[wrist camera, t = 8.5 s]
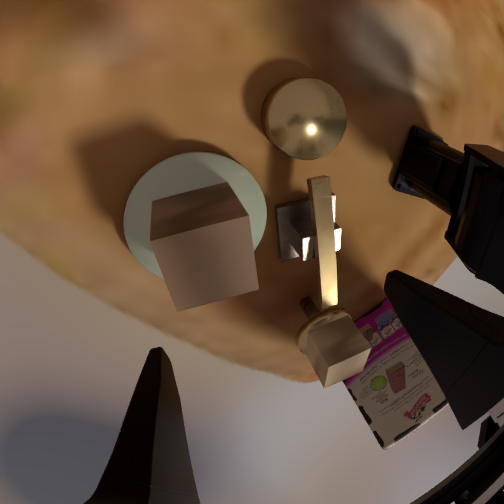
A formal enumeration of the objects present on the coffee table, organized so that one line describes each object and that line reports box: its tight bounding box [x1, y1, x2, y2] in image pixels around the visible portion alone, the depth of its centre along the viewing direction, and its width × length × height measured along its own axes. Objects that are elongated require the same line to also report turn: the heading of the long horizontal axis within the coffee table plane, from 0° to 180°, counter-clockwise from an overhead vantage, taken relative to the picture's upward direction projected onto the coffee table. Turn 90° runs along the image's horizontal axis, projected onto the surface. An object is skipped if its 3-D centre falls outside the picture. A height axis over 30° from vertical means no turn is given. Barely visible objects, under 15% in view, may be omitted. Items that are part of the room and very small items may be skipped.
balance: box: [261, 78, 353, 355], centre depth 21 cm, size 24×6×5 cm, turn 7°
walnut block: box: [150, 182, 259, 311], centre depth 17 cm, size 5×5×5 cm
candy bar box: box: [342, 298, 449, 450], centre depth 28 cm, size 11×5×16 cm, turn 120°
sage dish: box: [123, 151, 267, 279], centre depth 19 cm, size 10×10×1 cm
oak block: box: [307, 315, 371, 388], centre depth 23 cm, size 4×4×4 cm
